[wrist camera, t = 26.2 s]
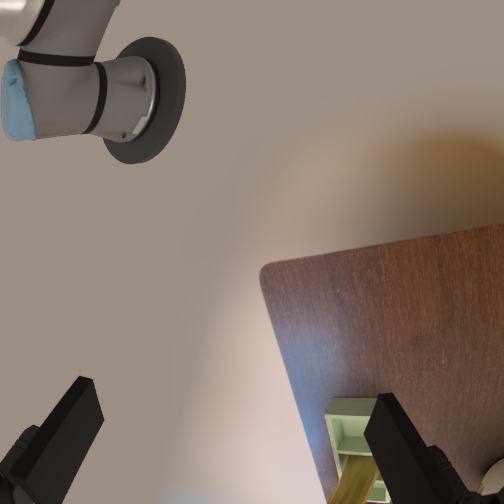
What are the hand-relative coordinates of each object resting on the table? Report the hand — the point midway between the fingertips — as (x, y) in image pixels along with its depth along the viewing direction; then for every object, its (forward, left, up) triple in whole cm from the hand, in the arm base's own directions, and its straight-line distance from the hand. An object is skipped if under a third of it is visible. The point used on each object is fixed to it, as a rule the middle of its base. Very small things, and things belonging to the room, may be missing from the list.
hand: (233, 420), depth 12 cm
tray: (+24, -22, -24) cm, 40 cm away
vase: (+24, -22, -23) cm, 40 cm away
